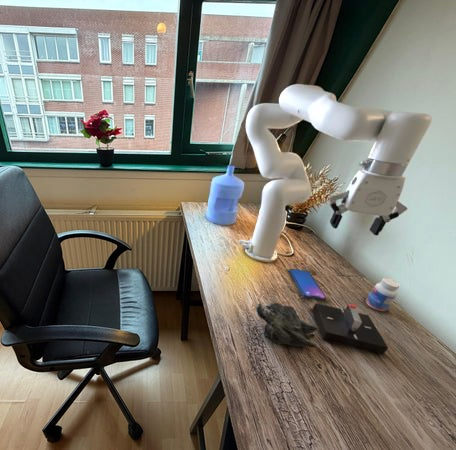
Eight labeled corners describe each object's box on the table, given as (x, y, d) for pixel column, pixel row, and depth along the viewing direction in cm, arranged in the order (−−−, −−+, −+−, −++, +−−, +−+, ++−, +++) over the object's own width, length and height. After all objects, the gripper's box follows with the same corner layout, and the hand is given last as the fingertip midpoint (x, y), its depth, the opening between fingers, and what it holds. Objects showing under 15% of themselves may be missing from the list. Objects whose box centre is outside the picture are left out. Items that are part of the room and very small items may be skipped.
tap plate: (322, 339, 66) (327, 331, 65) (311, 309, 76) (315, 302, 74) (382, 355, 63) (388, 347, 62) (363, 322, 73) (368, 314, 71)
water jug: (199, 214, 132) (208, 163, 119) (222, 211, 138) (233, 161, 125) (217, 228, 120) (229, 171, 107) (242, 223, 126) (255, 169, 113)
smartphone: (308, 270, 92) (327, 299, 79) (308, 272, 92) (326, 301, 79) (288, 268, 93) (304, 295, 79) (287, 270, 93) (303, 298, 80)
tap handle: (355, 333, 65) (362, 322, 63) (348, 330, 66) (355, 319, 64) (349, 315, 70) (355, 305, 68) (342, 313, 71) (348, 303, 69)
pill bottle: (361, 299, 81) (375, 276, 77) (375, 298, 82) (390, 276, 77) (375, 312, 76) (391, 288, 72) (390, 311, 77) (407, 288, 72)
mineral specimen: (274, 348, 57) (284, 306, 58) (241, 327, 69) (250, 293, 70) (322, 359, 61) (331, 319, 62) (282, 338, 73) (290, 304, 74)
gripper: (349, 167, 58) (322, 229, 66) (437, 177, 54) (397, 242, 62) (338, 160, 65) (314, 218, 73) (416, 169, 61) (382, 229, 69)
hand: (352, 229), depth 67 cm, fingers open, 9 cm apart
